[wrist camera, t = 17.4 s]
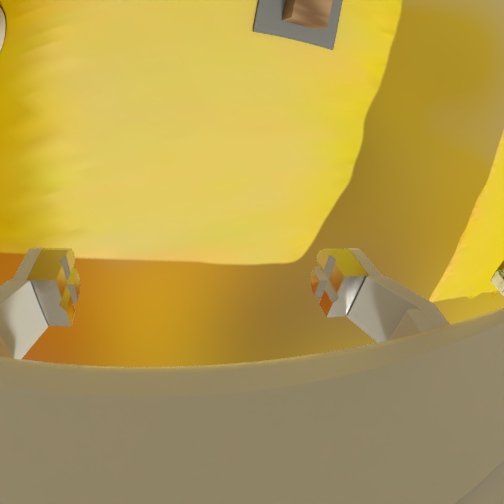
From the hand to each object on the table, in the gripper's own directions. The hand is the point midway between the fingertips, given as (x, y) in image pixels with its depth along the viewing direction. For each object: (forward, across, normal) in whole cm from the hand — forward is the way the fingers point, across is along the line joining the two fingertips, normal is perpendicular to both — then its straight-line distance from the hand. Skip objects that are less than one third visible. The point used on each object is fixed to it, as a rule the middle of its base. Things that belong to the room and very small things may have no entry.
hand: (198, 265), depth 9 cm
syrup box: (+36, -115, +36) cm, 126 cm away
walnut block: (+32, -14, -14) cm, 38 cm away
